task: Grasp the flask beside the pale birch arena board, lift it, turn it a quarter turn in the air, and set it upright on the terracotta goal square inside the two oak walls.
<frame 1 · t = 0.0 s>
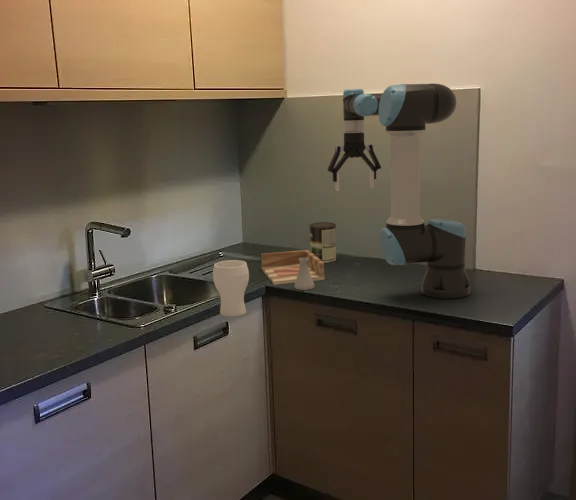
hand: (354, 189, 249), 28 cm above the worktop, fingers open, 13 cm apart
cup: (233, 313, 198), on the worktop
coffee can: (323, 260, 260), on the worktop
flask: (304, 288, 222), on the worktop
arena: (292, 274, 239), on the worktop
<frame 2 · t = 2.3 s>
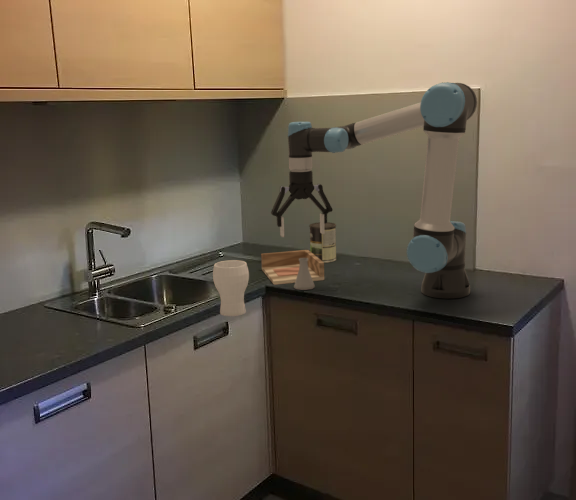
hand: (302, 234, 218), 18 cm above the worktop, fingers open, 13 cm apart
nothing on the worktop moved.
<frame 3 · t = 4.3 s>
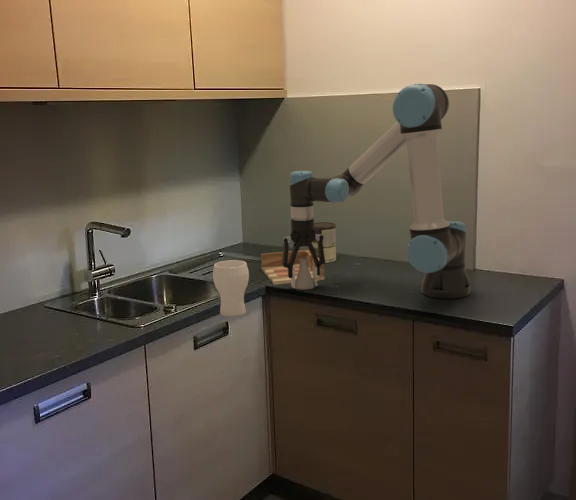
hand: (304, 285, 222), 1 cm above the worktop, fingers closed on flask, 7 cm apart
flask: (304, 288, 222), on the worktop, touching gripper
everything else where it was.
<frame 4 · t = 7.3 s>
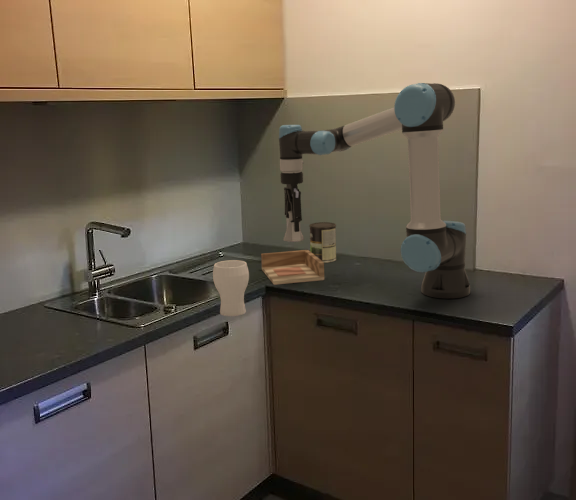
hand: (293, 238, 227), 15 cm above the worktop, fingers closed on flask, 7 cm apart
flask: (293, 240, 227), point 14 cm above the worktop, touching gripper
everything else where it was.
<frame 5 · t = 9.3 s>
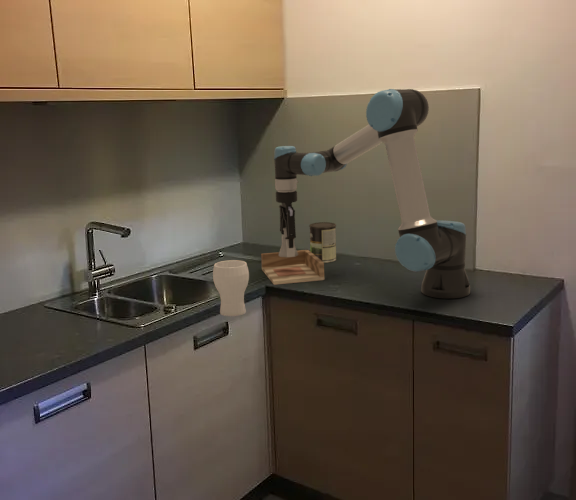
hand: (288, 254, 237), 8 cm above the worktop, fingers closed on flask, 7 cm apart
flask: (288, 256, 238), point 7 cm above the worktop, touching gripper
everything else where it was.
when the fingers open (3 cm above the worktop, at t = 10.5 s): flask drops 1 cm, resting on arena.
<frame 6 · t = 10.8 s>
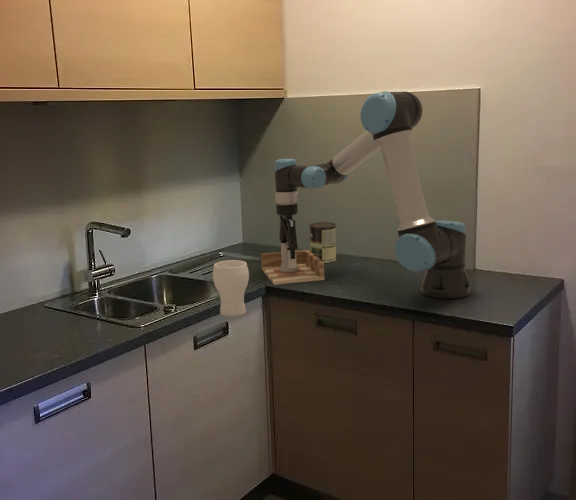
hand: (288, 263, 238), 4 cm above the worktop, fingers open, 10 cm apart
flask: (289, 271, 239), point 1 cm above the worktop, touching arena
everything else where it was.
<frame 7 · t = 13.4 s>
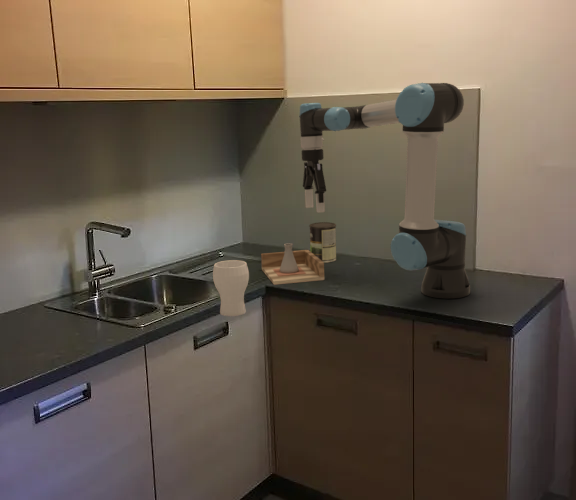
hand: (315, 209, 232), 24 cm above the worktop, fingers open, 13 cm apart
nothing on the worktop moved.
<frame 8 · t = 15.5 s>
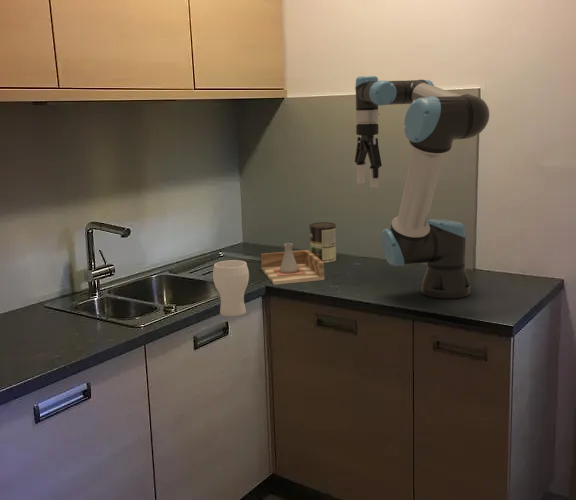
hand: (367, 185, 229), 32 cm above the worktop, fingers open, 13 cm apart
nothing on the worktop moved.
at the end: flask inside the target area on the arena (0.1 cm from its centre), point 1.2 cm above the arena's base; flask tilted 0°; the gripper is holding nothing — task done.
